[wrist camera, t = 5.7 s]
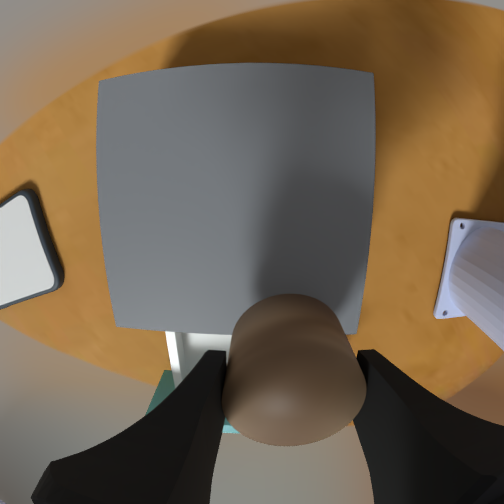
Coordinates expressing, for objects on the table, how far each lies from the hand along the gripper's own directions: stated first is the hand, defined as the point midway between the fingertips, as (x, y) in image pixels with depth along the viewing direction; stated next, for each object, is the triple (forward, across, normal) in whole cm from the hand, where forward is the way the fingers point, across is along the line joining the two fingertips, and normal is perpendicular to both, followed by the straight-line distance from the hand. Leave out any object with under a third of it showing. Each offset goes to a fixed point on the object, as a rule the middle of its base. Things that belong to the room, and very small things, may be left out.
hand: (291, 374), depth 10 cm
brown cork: (+2, 0, 0) cm, 2 cm away
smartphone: (+11, +25, 0) cm, 27 cm away
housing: (+10, +2, -5) cm, 12 cm away
